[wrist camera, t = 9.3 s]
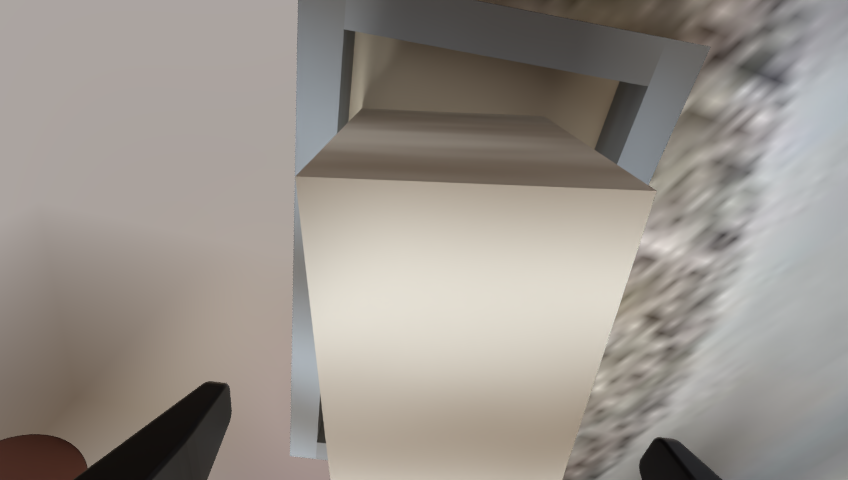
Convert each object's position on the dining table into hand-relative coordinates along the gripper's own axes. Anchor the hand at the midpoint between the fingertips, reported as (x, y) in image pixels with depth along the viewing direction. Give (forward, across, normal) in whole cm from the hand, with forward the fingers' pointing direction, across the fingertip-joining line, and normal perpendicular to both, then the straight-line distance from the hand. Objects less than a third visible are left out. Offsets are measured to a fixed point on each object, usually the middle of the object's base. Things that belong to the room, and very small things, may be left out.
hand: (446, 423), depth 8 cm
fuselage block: (+6, 0, 0) cm, 6 cm away
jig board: (+7, 0, 0) cm, 7 cm away
